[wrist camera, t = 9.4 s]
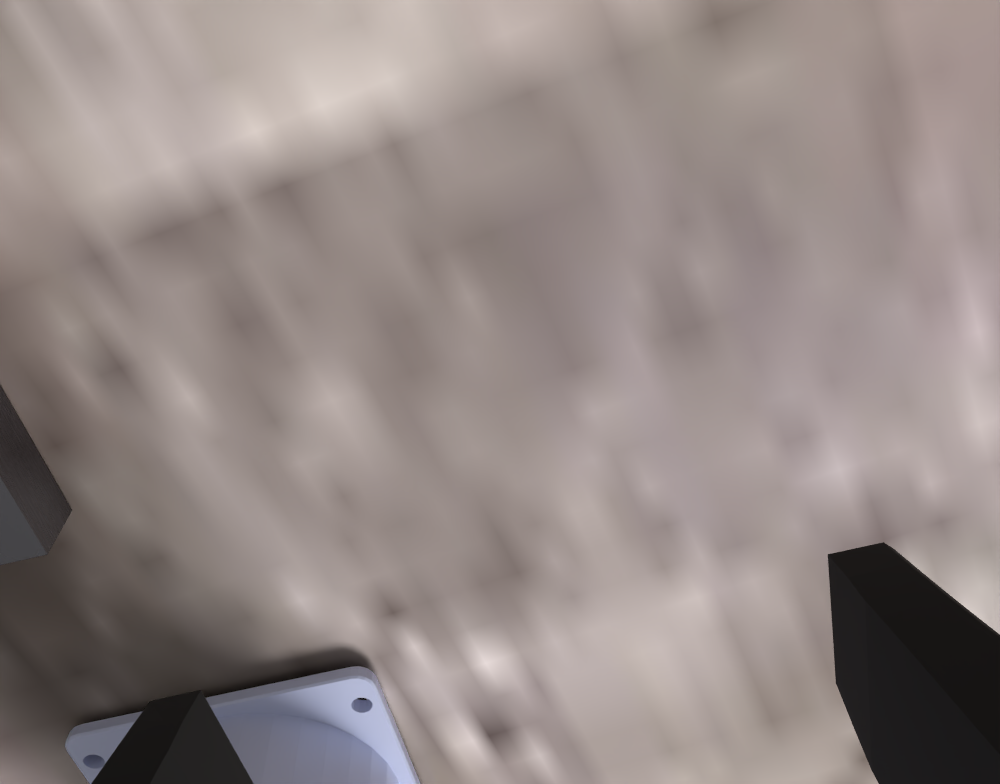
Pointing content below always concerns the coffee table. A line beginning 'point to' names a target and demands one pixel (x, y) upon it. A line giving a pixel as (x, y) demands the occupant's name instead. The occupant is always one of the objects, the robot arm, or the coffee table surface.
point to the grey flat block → (25, 493)
